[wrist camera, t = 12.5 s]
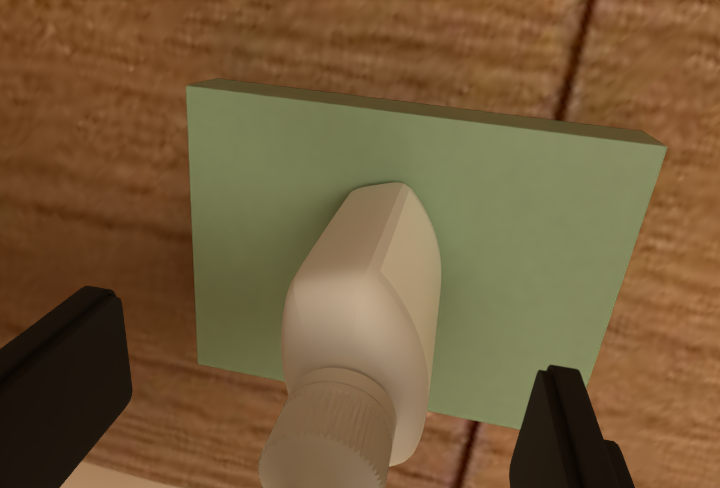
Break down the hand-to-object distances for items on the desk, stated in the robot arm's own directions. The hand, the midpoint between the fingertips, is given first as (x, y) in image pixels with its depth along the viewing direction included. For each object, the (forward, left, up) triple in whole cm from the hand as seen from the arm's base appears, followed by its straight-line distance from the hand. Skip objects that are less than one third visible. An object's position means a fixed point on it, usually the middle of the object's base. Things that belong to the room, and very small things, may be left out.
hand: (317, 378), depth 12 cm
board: (+1, +1, -11) cm, 11 cm away
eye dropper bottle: (+1, +1, -9) cm, 9 cm away
